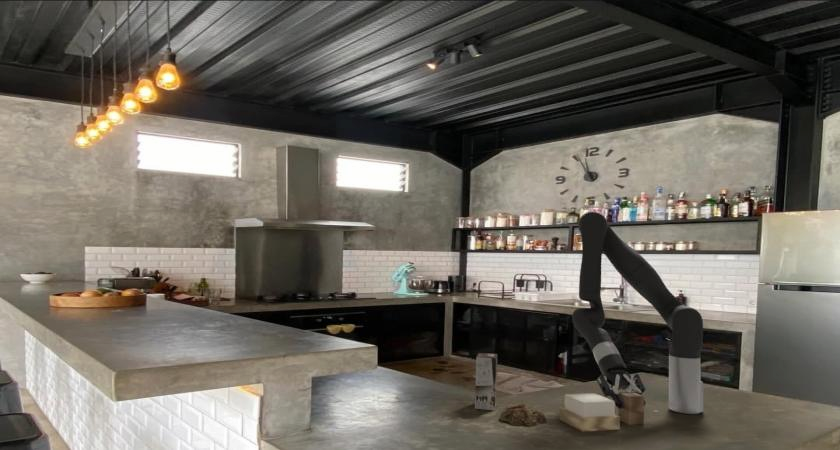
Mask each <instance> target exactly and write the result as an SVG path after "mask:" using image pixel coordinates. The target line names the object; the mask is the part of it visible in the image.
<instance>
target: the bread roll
mask: <svg viewBox="0 0 840 450" xmlns="http://www.w3.org/2000/svg"><path fill="white" fill-rule="evenodd" d="M499 419H500V421H501V422H507V423H509V425H511V426H515V427H524V426H525V427H533V426H534V427H535V426H538V425H541V424H542V425H543V424H546V422H547V418H546V416H545V414H544V413H543V411H540V410H538V409H536V408H534V407H533V406H530V405H528V404H524V403H513V404H511V405H508V406H507V407H506V408H504V409H503V410H502V411H501V413H500V415H499Z"/></svg>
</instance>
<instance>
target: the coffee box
mask: <svg viewBox="0 0 840 450" xmlns="http://www.w3.org/2000/svg"><path fill="white" fill-rule="evenodd" d="M475 359H476V360H475V385H474V387H475V389H474V390H475V391H474V409H475V410H485V411H495V409H496V406H497V394H498V393H497V392H498V390H497V389H498V388H497V384H498V380H497V379H498V354H497V353H486V352H485V353H481V352H479V353H477V355H476V357H475Z"/></svg>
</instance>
